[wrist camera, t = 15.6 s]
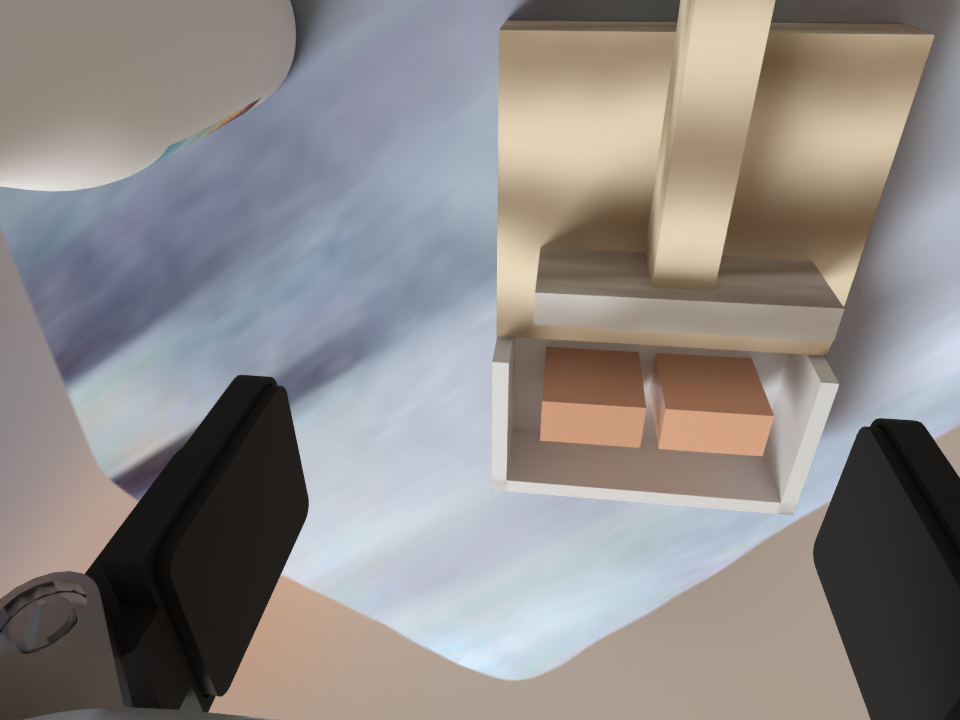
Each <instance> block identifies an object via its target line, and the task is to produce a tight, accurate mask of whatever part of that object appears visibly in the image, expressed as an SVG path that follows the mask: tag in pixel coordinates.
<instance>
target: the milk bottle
mask: <svg viewBox="0 0 960 720" xmlns="http://www.w3.org/2000/svg"><path fill="white" fill-rule="evenodd" d="M295 46H296V26H295V18H294V13H293V8H292V4H291V1H290V0H0V186H1V187H11V188H19V189H27V190H40V191H70V190H80V189H86V188H92V187H97V186H101V185H105V184H108V183H111V182H114V181H118V180H121V179H124V178H126V177H129V176H131V175H133V174H135V173H137V172H139V171H141V170H143V169H145V168H147V167H150V166H152V165H154V164H156V163H158V162H160V161H162V160H163V159H165V158H167V157H169V156H170V155H172V154H174V153H176V152H178V151H179V150H181V149H183V148H185V147H187V146H188V145H190V144H192V143H194V142H195V141H197V140H199V139H201V138H203V137H204V136H206V135H208V134H210V133H211V132H213V131H215V130H216V129H218V128H220V127H222V126H223V125H225V124H227V123H228V122H230V121H232V120H234V119H235V118H237V117H239V116H240V115H242V114H244V113H245V112H247V111H249V110H251V109H252V108H254V107H256V106H257V105H259V104H260V103H262V102H263V101H264V100H266V99H267V98H269V97H270V96H271V95H272V94H273V93H274V92H275V91H277V89H278V88H279V87H280V86H281V84H282V83H283V81H284V80H285V78H286V76H287V74H288V72H289V70H290V67H291V65H292V61H293V58H294V53H295Z"/></svg>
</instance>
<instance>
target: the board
mask: <svg viewBox="0 0 960 720" xmlns="http://www.w3.org/2000/svg"><path fill="white" fill-rule="evenodd" d="M676 29H677V22H634V21H522V20H506V21H505V23H504V24H503V26H502V27H501V28H500V30H499V123H498V236H497V336H503V337H520V338H537V339H554V340H571V341H588V342H605V343H621V344H638V345H655V346H672V347H689V348H706V349H723V350H740V351H757V352H774V353H791V354H808V355H825V356H828V353H829V350H830V347H831V344H832V342H831V341H814V340H796V339H779V338H761V337H744V336H727V335H709V334H692V333H674V332H657V331H639V330H622V329H604V328H587V327H569V326H552V325H534V304H535V289H536V280H537V272H538V263H539V255H540V247H542V248H565V249H587V250H609V251H631V252H645V249H646V241H647V234H648V227H649V220H650V213H651V206H652V199H653V192H654V185H655V178H656V170H657V163H658V156H659V149H660V142H661V135H662V128H663V121H664V114H665V107H666V100H667V92H668V85H669V78H670V71H671V64H672V57H673V50H674V43H675V36H676ZM934 36H935V35H934V34H931V33H928V32H925V31H922V30H919V29H916V28H913V27H910V26H907V25H904V24H857V23H771V24H770V28H769V33H768V38H767V43H766V48H765V52H764V57H763V62H762V67H761V71H760V76H759V81H758V86H757V90H756V95H755V100H754V105H753V109H752V114H751V119H750V124H749V128H748V133H747V138H746V143H745V147H744V152H743V157H742V162H741V167H740V171H739V176H738V181H737V186H736V190H735V195H734V200H733V205H732V209H731V214H730V219H729V224H728V228H727V233H726V238H725V243H724V247H723V252H722V256H742V257H764V258H787V259H809V260H812V261H813V263H814V264H815V265H816V267H817V268H818V270H819V271H820V273H821V274H822V276H823V277H824V279H825V280H826V282H827V283H828V285H829V286H830V288H831V289H832V291H833V292H834V293H835V295H836V296H837V298H838V299H839V301H840V302H841V304H842V305H843V307H844V306H845V303H846V300H847V297H848V294H849V291H850V288H851V285H852V282H853V279H854V276H855V273H856V270H857V267H858V264H859V261H860V258H861V255H862V252H863V249H864V246H865V243H866V240H867V237H868V234H869V231H870V228H871V225H872V222H873V219H874V216H875V213H876V210H877V207H878V204H879V201H880V198H881V195H882V192H883V189H884V186H885V183H886V180H887V177H888V174H889V171H890V168H891V165H892V162H893V159H894V156H895V153H896V150H897V147H898V144H899V141H900V138H901V135H902V132H903V129H904V126H905V123H906V120H907V117H908V114H909V111H910V108H911V105H912V102H913V99H914V96H915V93H916V90H917V87H918V84H919V81H920V78H921V75H922V72H923V69H924V66H925V63H926V60H927V57H928V54H929V51H930V48H931V45H932V42H933V39H934Z"/></svg>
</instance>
